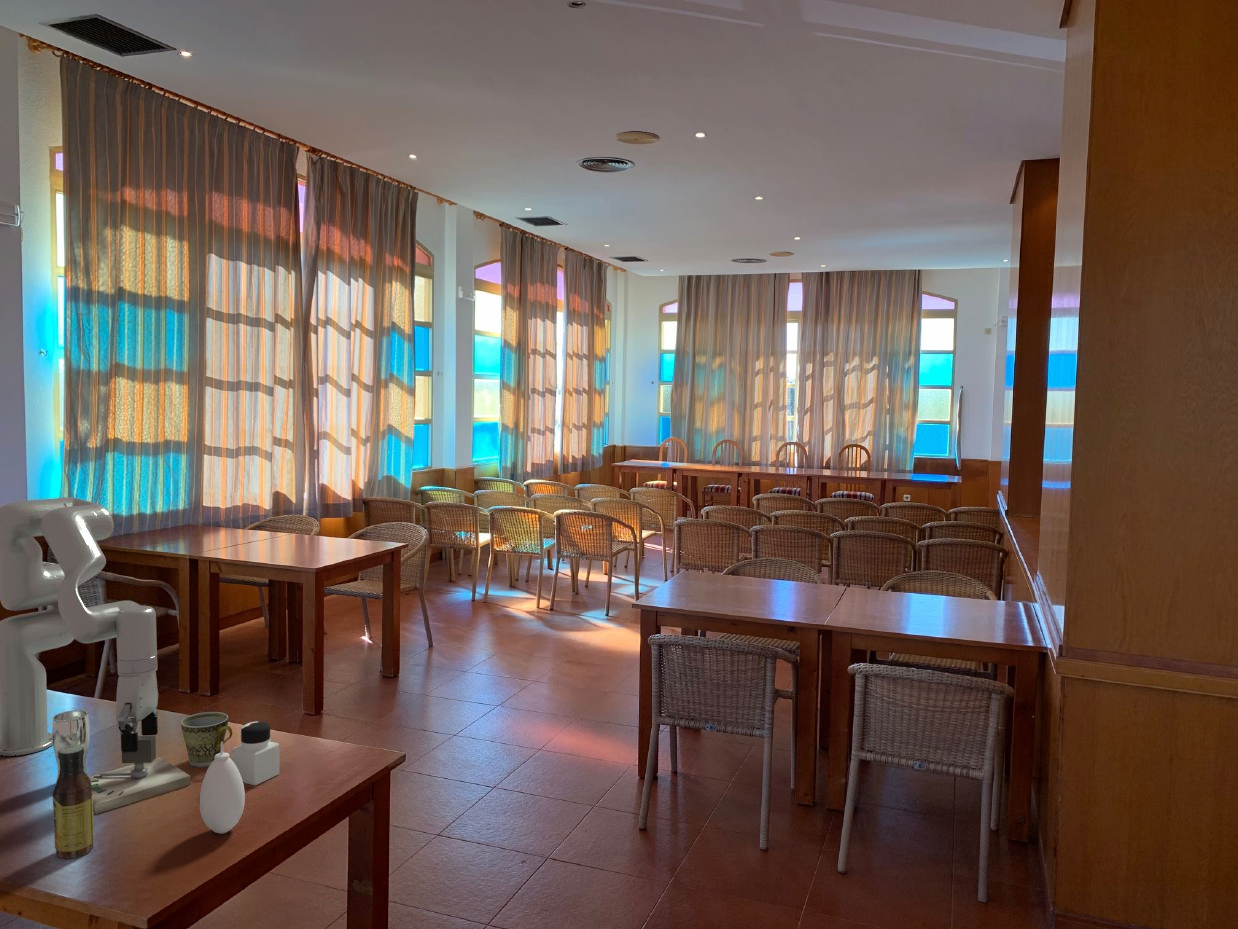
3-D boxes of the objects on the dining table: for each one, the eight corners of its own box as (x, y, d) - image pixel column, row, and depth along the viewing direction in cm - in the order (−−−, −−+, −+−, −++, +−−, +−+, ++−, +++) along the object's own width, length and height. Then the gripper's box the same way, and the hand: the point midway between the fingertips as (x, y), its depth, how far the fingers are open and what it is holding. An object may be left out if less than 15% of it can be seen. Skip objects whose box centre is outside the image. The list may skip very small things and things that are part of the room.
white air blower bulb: (227, 818, 182) (226, 730, 180) (253, 828, 178) (252, 738, 176) (191, 834, 175) (190, 743, 174) (217, 845, 171) (216, 752, 170)
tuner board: (67, 792, 192) (67, 782, 192) (159, 765, 206) (159, 756, 206) (95, 814, 182) (95, 803, 182) (190, 784, 197) (190, 774, 197)
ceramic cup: (171, 765, 207) (170, 723, 206) (206, 750, 216) (205, 709, 215) (214, 775, 202) (214, 731, 201) (248, 759, 211) (248, 717, 210)
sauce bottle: (66, 844, 170) (63, 740, 169) (100, 843, 171) (98, 740, 169) (47, 862, 164) (44, 754, 162) (83, 861, 164) (80, 754, 163)
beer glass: (73, 791, 193) (71, 722, 192) (45, 787, 194) (43, 719, 193) (98, 778, 199) (97, 711, 198) (71, 774, 201) (69, 708, 200)
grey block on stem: (104, 772, 197) (103, 736, 196) (156, 772, 198) (156, 735, 197) (96, 779, 194) (96, 741, 193) (150, 778, 194) (149, 740, 194)
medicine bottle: (280, 774, 203) (279, 722, 202) (255, 786, 197) (254, 732, 196) (256, 768, 206) (256, 716, 205) (231, 780, 200) (230, 726, 199)
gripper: (137, 654, 202) (139, 729, 203) (99, 677, 185) (102, 759, 186) (172, 653, 203) (174, 728, 204) (138, 676, 186) (140, 758, 187)
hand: (140, 743), depth 195 cm, fingers open, 9 cm apart
